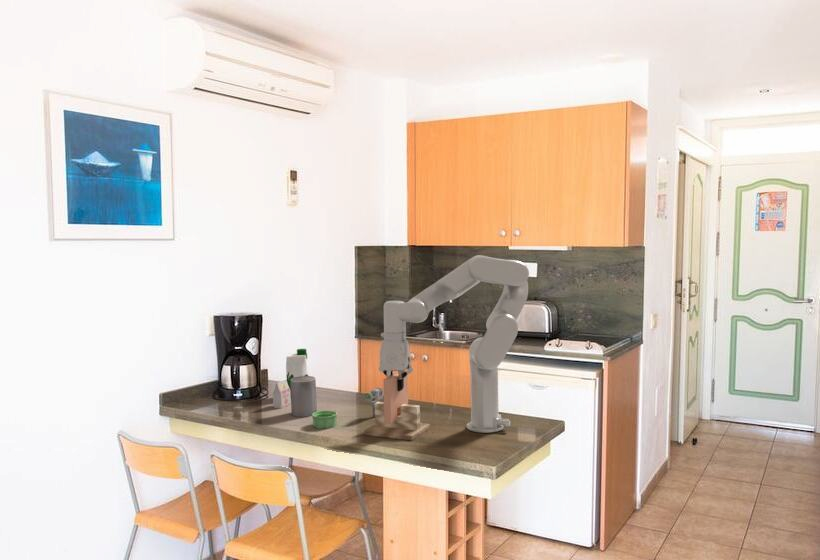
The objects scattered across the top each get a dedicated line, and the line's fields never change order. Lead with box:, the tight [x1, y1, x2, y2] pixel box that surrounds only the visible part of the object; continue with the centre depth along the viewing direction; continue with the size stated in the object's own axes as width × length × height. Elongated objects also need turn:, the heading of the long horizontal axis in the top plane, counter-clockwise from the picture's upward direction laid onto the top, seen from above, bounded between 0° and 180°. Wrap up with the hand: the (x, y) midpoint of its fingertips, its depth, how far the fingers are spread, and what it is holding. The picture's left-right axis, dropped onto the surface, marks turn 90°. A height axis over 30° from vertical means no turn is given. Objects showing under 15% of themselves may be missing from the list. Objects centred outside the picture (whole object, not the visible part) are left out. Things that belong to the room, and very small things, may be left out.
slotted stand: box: [363, 401, 431, 441], centre depth 239 cm, size 18×15×10 cm
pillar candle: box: [290, 375, 318, 418], centre depth 265 cm, size 10×10×15 cm
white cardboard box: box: [272, 379, 291, 409], centre depth 278 cm, size 4×7×10 cm, turn 155°
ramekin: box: [311, 410, 338, 429], centre depth 249 cm, size 9×9×4 cm
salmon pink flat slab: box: [383, 372, 409, 424], centre depth 239 cm, size 14×2×15 cm, turn 156°
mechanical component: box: [364, 387, 384, 418], centre depth 258 cm, size 3×10×10 cm, turn 152°
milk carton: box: [285, 348, 309, 394], centre depth 293 cm, size 9×9×20 cm
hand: (396, 389), depth 238 cm, fingers closed on salmon pink flat slab, 2 cm apart
